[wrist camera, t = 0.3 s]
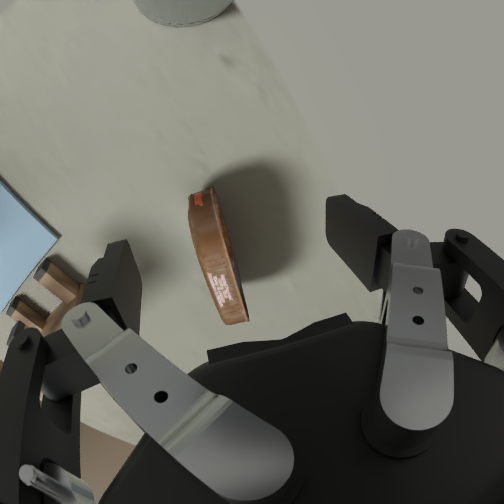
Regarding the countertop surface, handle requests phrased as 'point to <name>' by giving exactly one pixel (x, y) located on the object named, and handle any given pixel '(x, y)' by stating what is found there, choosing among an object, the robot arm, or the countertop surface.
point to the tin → (216, 256)
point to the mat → (19, 243)
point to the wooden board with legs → (69, 295)
